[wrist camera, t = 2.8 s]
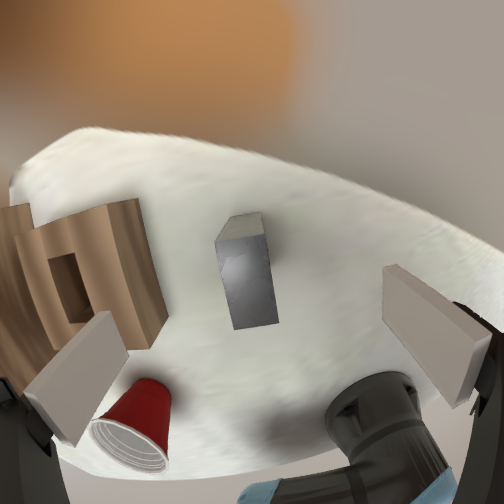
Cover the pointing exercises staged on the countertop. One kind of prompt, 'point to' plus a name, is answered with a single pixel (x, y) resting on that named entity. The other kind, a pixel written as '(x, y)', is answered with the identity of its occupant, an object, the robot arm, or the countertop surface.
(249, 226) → the dark grey rectangular post
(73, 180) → the countertop surface
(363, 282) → the countertop surface
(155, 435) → the plastic cup
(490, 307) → the countertop surface
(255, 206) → the countertop surface
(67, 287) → the wooden panel stand
